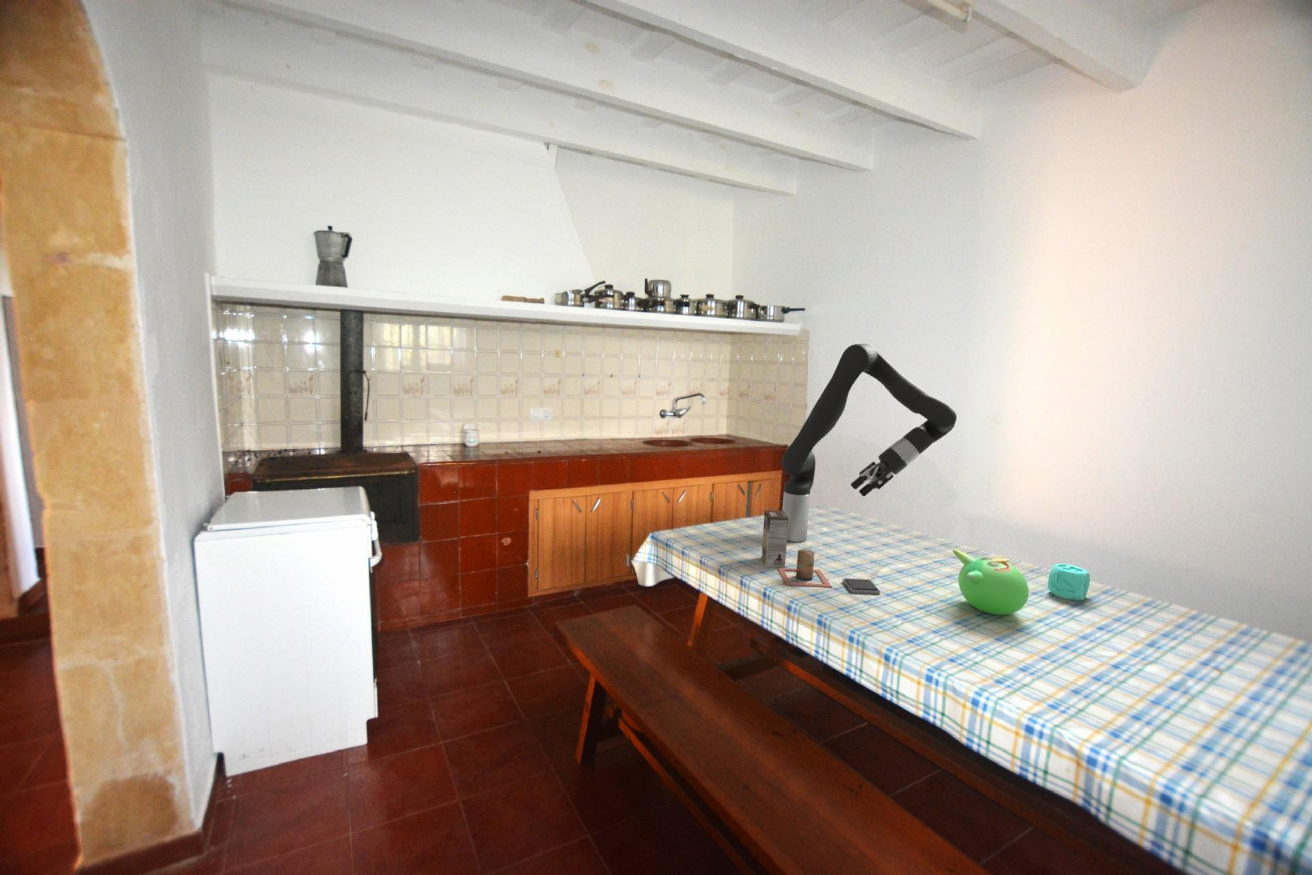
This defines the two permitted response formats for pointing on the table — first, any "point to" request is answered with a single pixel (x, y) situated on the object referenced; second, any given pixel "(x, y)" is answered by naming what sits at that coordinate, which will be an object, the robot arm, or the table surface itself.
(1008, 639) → the table surface
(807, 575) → the stamp
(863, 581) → the ink pad
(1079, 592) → the decorative dice
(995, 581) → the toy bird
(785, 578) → the marked square
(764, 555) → the coffee box
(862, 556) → the table surface
